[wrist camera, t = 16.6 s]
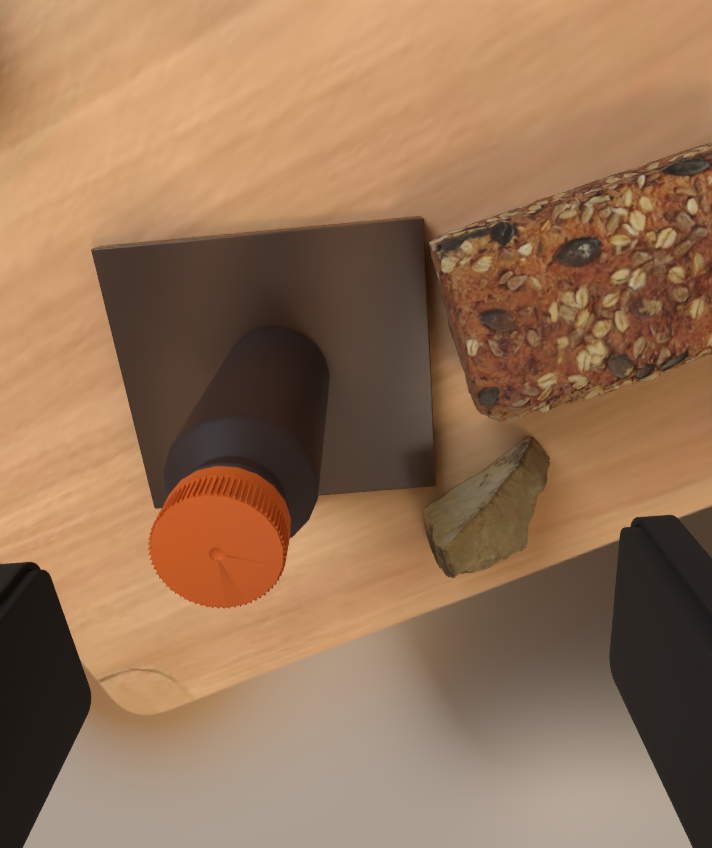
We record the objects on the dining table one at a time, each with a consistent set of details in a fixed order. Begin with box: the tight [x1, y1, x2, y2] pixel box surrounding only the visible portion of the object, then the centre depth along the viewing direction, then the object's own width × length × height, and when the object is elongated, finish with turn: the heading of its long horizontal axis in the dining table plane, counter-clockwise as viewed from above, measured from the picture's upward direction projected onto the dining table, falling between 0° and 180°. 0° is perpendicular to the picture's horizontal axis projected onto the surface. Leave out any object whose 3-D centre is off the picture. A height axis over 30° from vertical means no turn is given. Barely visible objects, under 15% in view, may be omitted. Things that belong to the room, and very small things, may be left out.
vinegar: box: [148, 327, 330, 608], centre depth 32 cm, size 7×7×20 cm
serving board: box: [91, 216, 436, 508], centre depth 42 cm, size 20×18×2 cm
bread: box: [429, 143, 712, 421], centre depth 35 cm, size 19×11×10 cm, turn 108°
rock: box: [423, 437, 550, 578], centre depth 43 cm, size 11×9×10 cm
